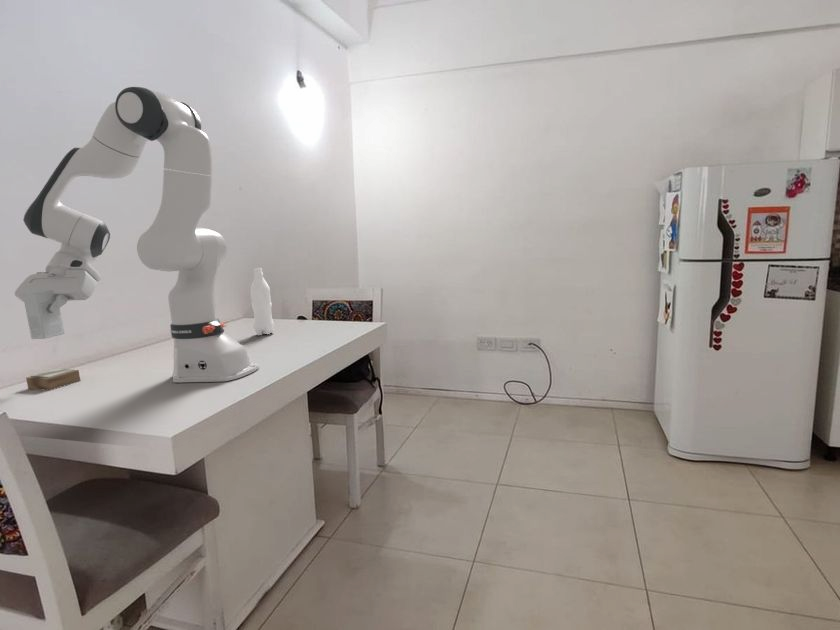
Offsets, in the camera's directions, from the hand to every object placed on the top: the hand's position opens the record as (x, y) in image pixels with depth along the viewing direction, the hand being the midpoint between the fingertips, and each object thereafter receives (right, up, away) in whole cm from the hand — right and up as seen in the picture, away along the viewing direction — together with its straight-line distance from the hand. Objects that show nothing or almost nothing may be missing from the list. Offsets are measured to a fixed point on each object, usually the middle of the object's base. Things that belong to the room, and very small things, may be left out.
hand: (41, 312), depth 125 cm
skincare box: (0, -7, +2) cm, 7 cm away
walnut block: (+1, -19, +3) cm, 20 cm away
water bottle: (+39, -8, +58) cm, 71 cm away
